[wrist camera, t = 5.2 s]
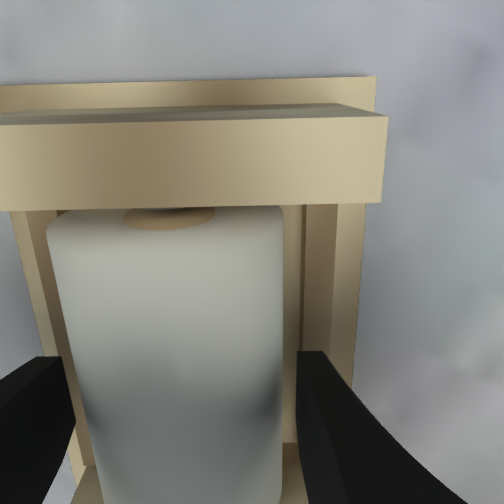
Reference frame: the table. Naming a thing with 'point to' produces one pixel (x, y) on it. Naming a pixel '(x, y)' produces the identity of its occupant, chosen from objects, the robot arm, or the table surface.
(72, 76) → the table surface
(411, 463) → the robot arm
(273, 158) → the beige wooden frame
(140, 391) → the roll
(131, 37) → the table surface
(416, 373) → the table surface
